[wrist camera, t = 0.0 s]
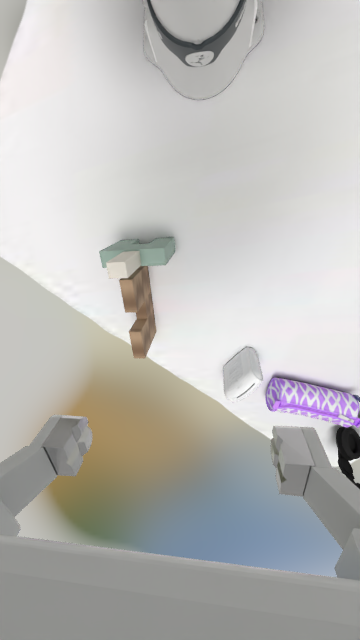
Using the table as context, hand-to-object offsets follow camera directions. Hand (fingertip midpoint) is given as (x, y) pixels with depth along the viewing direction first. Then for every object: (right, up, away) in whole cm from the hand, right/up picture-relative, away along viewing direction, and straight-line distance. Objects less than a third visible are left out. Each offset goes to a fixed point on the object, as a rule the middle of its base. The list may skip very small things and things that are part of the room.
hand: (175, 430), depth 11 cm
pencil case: (+35, -15, +57) cm, 69 cm away
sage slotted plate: (-7, +21, +44) cm, 50 cm away
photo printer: (+16, -6, +55) cm, 58 cm away
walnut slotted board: (-8, +10, +50) cm, 52 cm away
